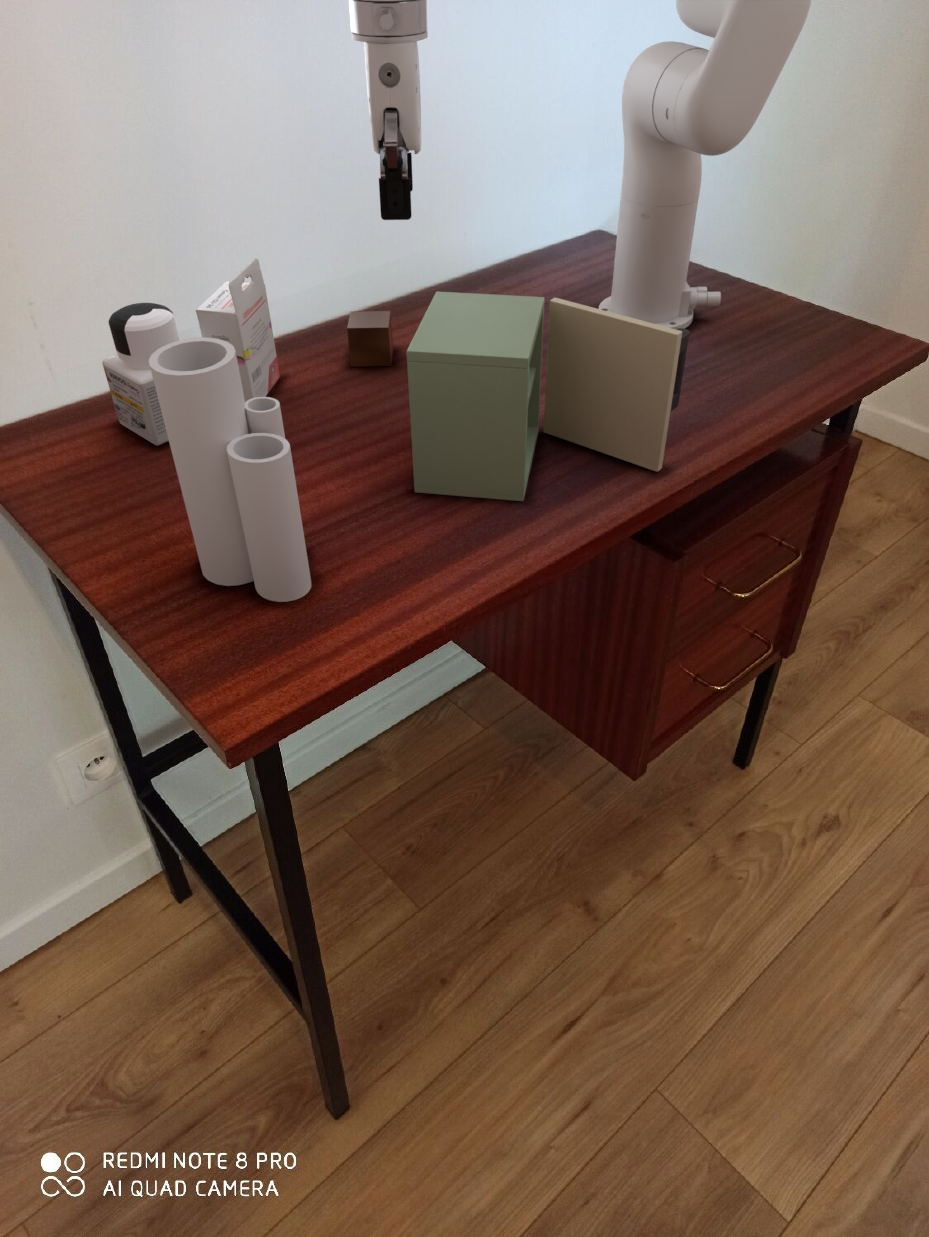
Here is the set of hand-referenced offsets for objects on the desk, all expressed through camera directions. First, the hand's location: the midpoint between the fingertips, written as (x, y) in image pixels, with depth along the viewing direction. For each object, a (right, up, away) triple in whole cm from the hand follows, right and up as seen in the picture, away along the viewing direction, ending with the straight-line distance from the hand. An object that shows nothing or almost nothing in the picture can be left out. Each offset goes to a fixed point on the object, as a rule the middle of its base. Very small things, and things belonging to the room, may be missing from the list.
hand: (397, 204), depth 100 cm
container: (-26, -24, +3) cm, 35 cm away
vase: (-11, -41, -18) cm, 46 cm away
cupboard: (+9, -29, -4) cm, 30 cm away
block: (-4, -13, +15) cm, 20 cm away
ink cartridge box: (-18, -19, +8) cm, 27 cm away
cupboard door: (+24, -26, -1) cm, 35 cm away
